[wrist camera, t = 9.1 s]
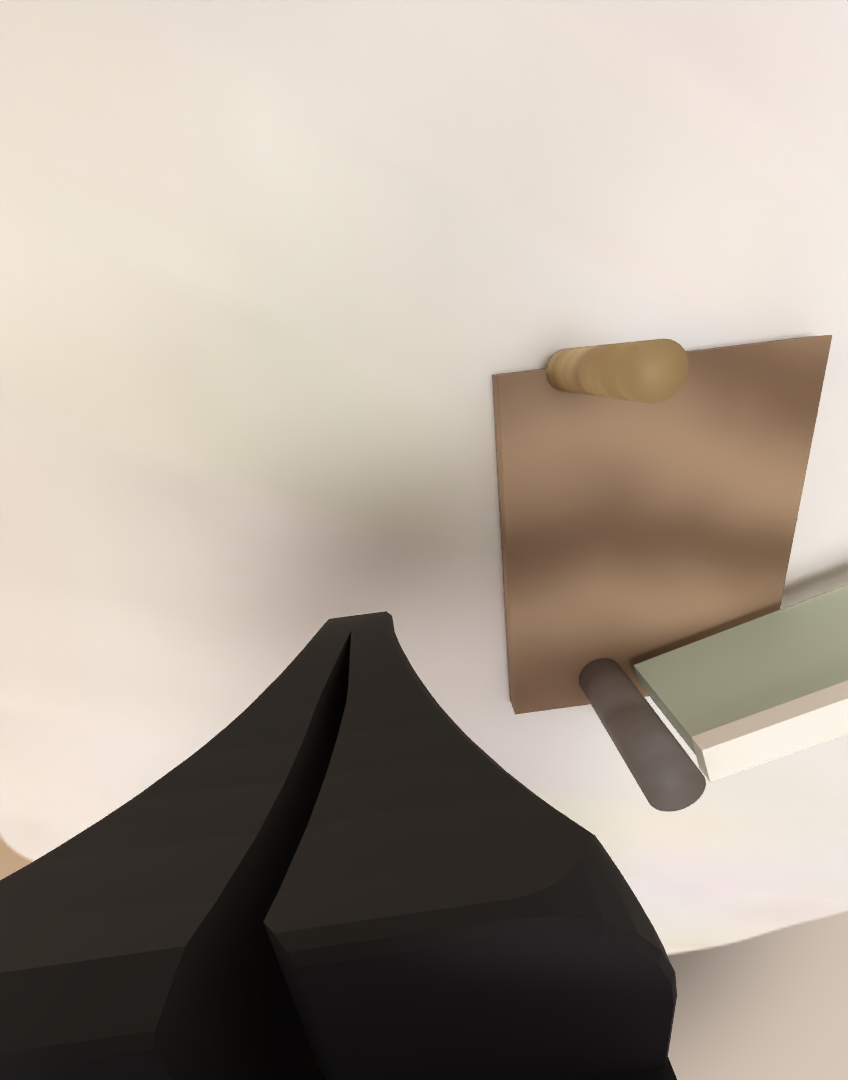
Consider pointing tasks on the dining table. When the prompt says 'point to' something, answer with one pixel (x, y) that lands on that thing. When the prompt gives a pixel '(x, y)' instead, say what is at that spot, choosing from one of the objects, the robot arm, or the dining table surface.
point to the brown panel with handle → (646, 520)
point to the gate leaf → (758, 686)
